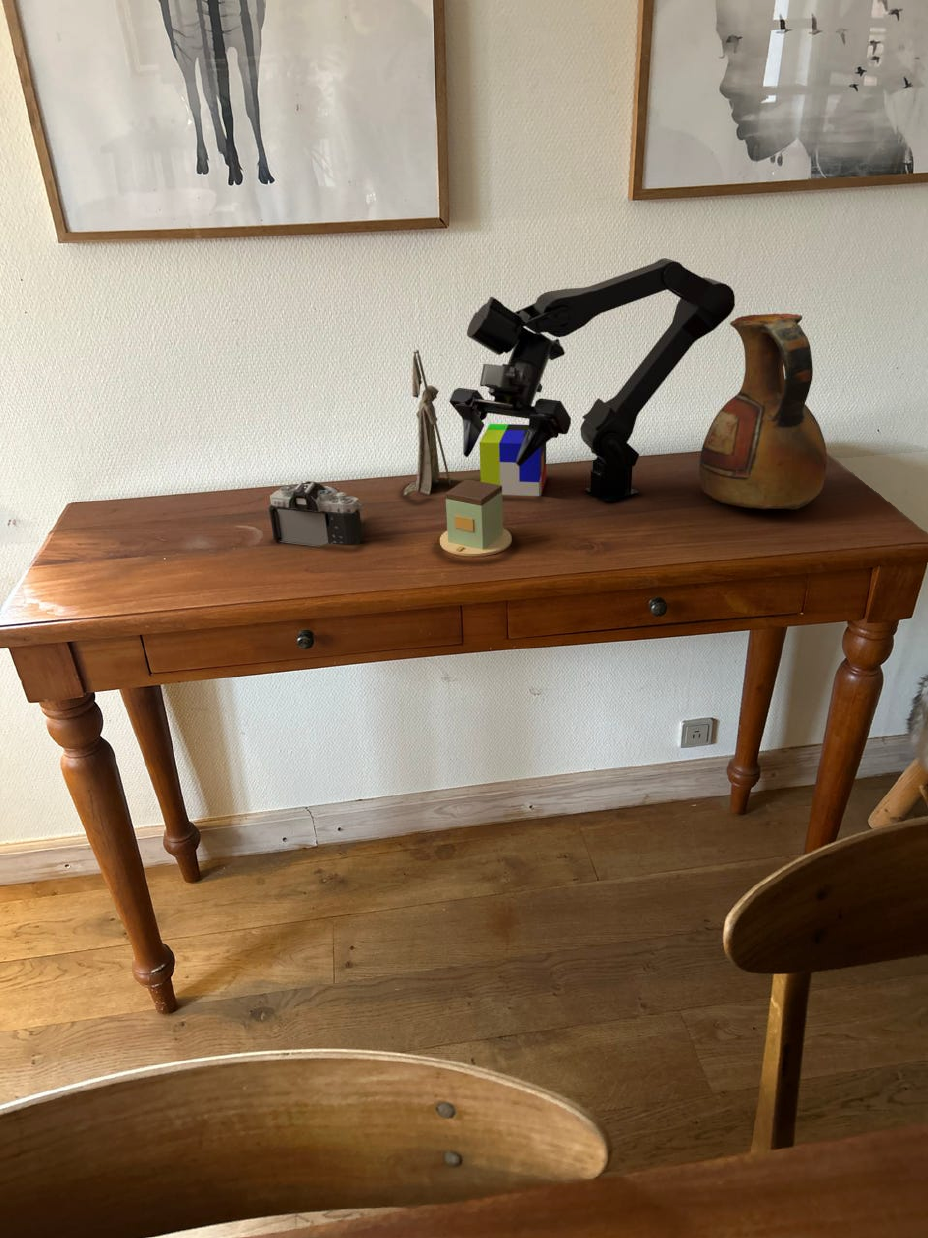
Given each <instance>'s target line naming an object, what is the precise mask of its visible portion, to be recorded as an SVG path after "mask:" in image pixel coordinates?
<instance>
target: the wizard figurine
mask: <svg viewBox="0 0 928 1238" xmlns="http://www.w3.org/2000/svg"><path fill="white" fill-rule="evenodd" d="M412 353H413V356H412V372H411V373H412V374H411V375H412V376H411V380H412V383H411V385H412V388H411V389H412V390H411V391H412V392H411V395H412V397H413V398H417V399H418V398H419V396H420V395H421V400H420V401H419V404H418V405H419V406H418V411H417V412H416V418H417V420H418V431H417V432H418V433H417V435H418V457H417V458H418V459H417V472H416V481H413V482H411V483H410V484H409V485H407V486H406V488H405V489H404V491H403V496H407V495H408V494H410V493H411V492H413V491H415V492H417V493H422V494H425V495H431V489H432V483H438V482H439V480H438V478H440V474H441V473H440V466H439V456H438V446H437V443H438V445H439V449H440V454H441V458H442V462H443V465H444V469H445V474H446V477H447V478H446V479H447V481H448V484H449V485H450V486H451V485H452V482H451V477H450V473H449V467H448V465H447V461H446V456H445V453H444V447H443V444H442V441H441V436H440V432H439V428H438V423H437V421H438V417H437V414H436V407H435V405H434V403H433V402H434V401H435V400H436V399H437V398H438V394H439V392H440V391H439V390H438V388H437V387H436V386H434V385H431V384H430V385H428V383H427V377H426V375H425V371H424V366H423V363H422V359H421V358H422V356H421V355H420V350H419V349H416V350H415V351H413V352H412ZM422 383H423V385H424V389H423V391H422V393H421V385H422ZM436 436H437V437H436ZM437 441H438V442H437Z"/></svg>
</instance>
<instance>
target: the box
mask: <svg viewBox="0 0 928 1238" xmlns="http://www.w3.org/2000/svg"><path fill="white" fill-rule="evenodd" d="M444 494H445V511H446V512H445V513H446V531H443V533H442V534H441V535H440V537H439V544H440V546H441V548H442V549H443V550H444V551H445V552H448V553H450V554H453V555H455V556H461V557H471V558H473V557H487V556H490V555H495V554H498V553H501V552H503V551H505V550H506V549H507V548H509V547H510V545H511V544H512V540H513V539H512V534H511V533H510V532H509V531H508V530H507V529H506V528H504V515H503V512H504V511H503V509H504V508H503V495H502V485H496V484H491V483H485V482H481V480H480V481H479V480H473V479H468V478H466V479H464V480H463V481H461V482H460V483H458V484H457V485H455V486H453V487H452V488H450V489H449V490H447V491H446V492H445V493H444Z"/></svg>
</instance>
